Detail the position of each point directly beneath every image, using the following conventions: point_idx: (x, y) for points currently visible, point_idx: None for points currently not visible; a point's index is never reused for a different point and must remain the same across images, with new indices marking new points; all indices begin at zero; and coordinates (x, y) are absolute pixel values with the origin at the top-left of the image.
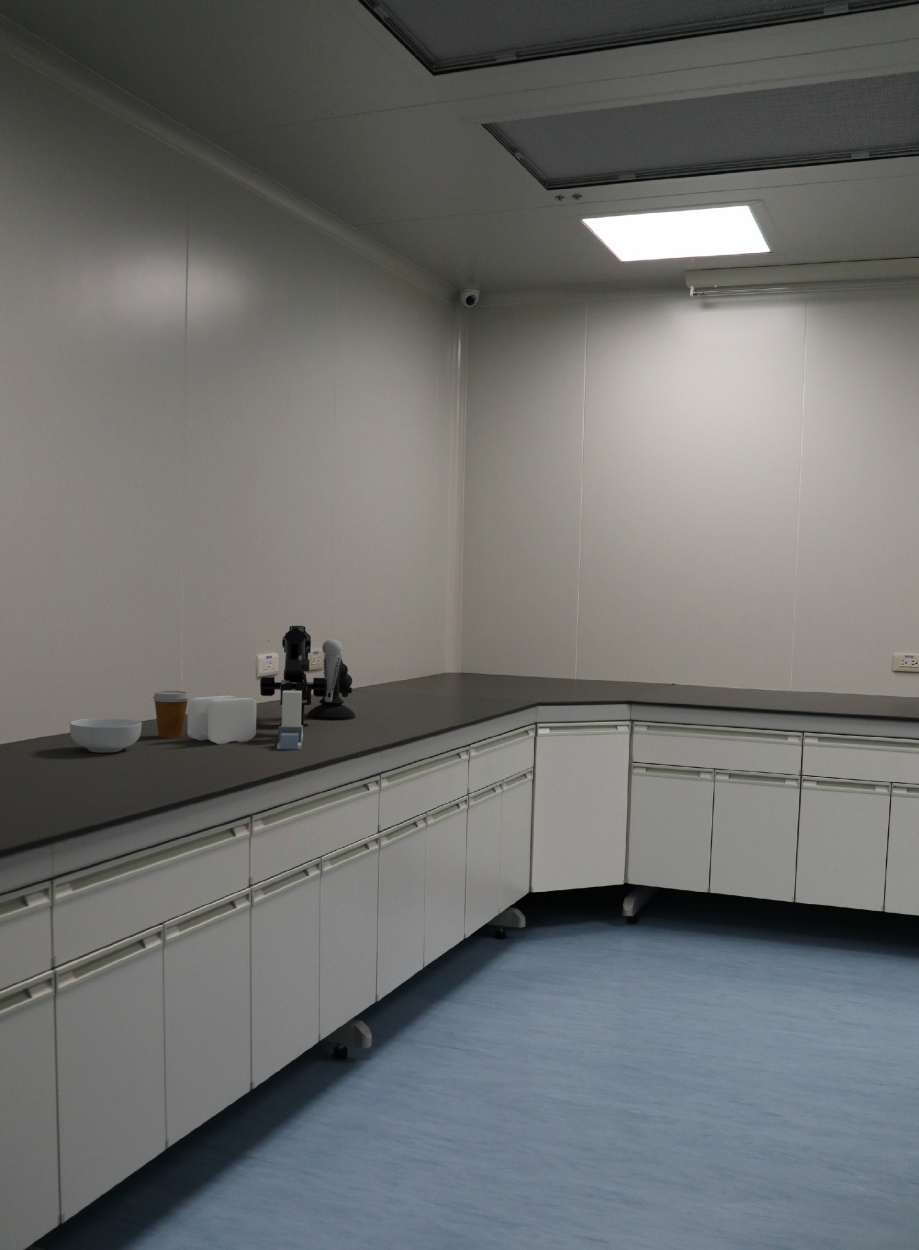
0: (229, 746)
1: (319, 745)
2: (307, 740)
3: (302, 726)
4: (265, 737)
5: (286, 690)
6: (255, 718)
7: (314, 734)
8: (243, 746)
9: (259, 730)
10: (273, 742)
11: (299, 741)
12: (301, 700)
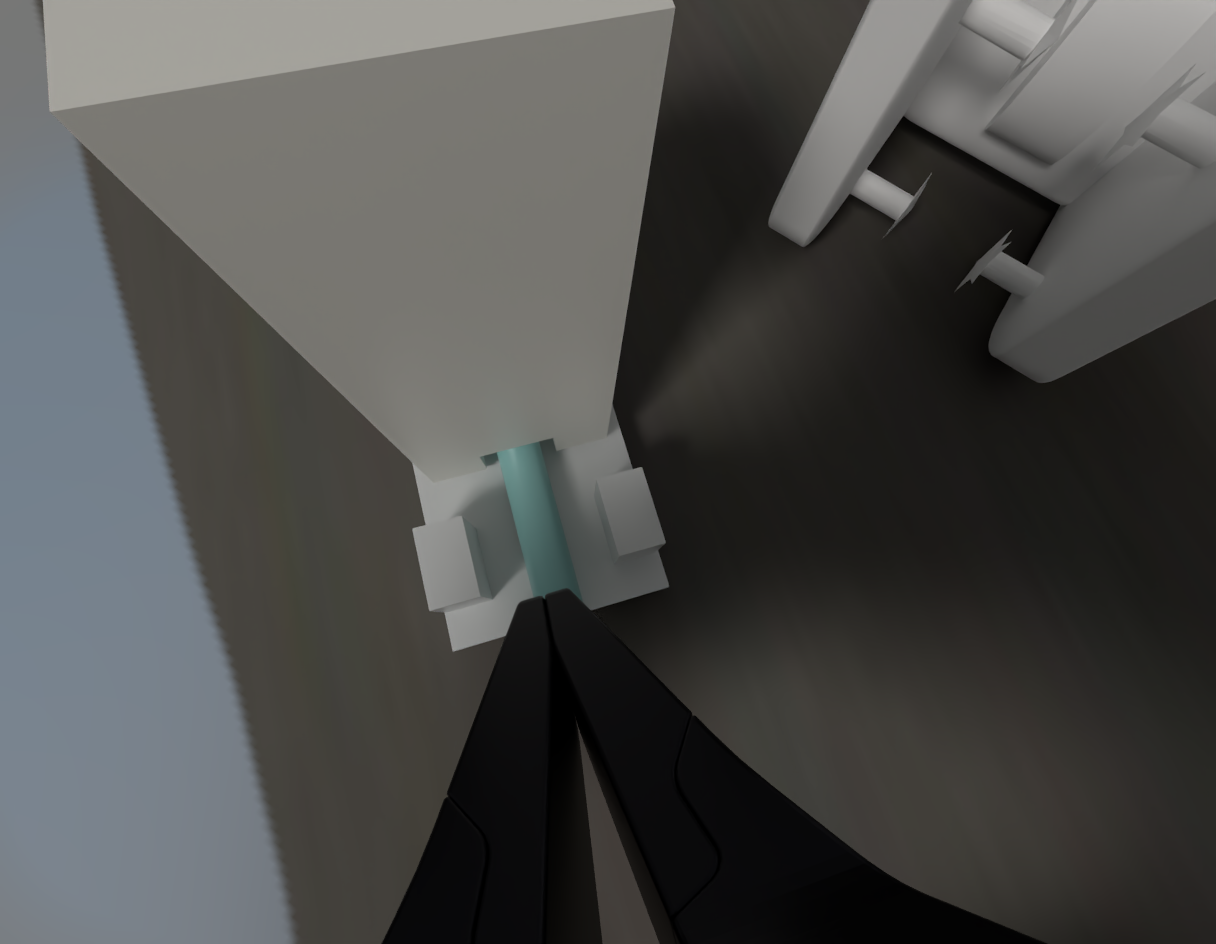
0: (800, 11)
1: None
2: None
3: (413, 528)
4: (745, 427)
5: (894, 909)
6: (825, 98)
7: (360, 778)
8: (720, 29)
9: (999, 860)
10: None
11: None
12: (244, 283)
